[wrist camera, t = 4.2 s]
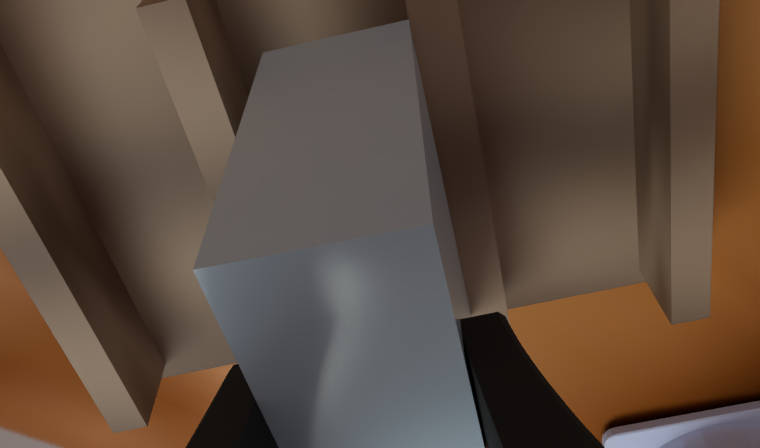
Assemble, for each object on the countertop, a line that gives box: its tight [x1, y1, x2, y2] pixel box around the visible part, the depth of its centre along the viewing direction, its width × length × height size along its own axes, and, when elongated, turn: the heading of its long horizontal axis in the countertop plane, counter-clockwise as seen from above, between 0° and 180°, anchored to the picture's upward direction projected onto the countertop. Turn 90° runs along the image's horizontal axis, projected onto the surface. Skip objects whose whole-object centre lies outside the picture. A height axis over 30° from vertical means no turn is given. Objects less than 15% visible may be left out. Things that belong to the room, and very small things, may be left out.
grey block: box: [193, 19, 487, 448], centre depth 14 cm, size 8×3×7 cm, turn 13°
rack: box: [0, 0, 720, 433], centre depth 18 cm, size 12×18×4 cm, turn 102°
